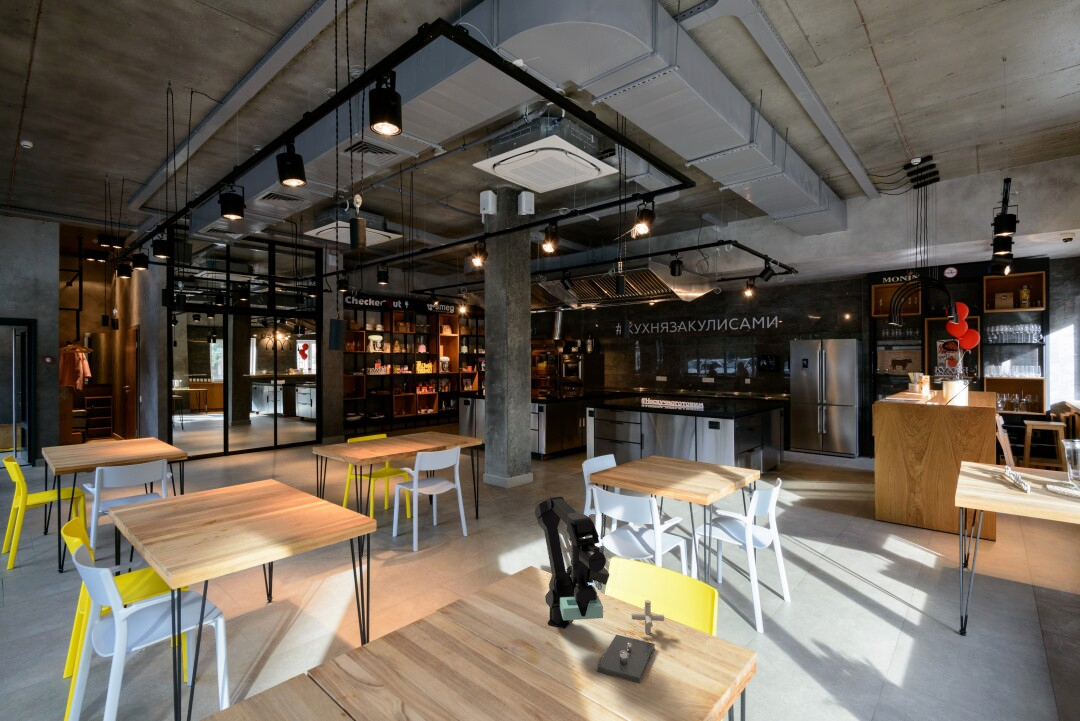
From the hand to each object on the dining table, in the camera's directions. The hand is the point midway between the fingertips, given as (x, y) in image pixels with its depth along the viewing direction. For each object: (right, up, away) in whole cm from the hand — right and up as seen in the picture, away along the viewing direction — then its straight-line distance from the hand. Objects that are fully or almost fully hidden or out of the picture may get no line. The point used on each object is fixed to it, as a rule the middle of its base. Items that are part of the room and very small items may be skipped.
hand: (581, 610), depth 155 cm
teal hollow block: (0, -1, 0) cm, 1 cm away
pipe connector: (+22, -11, +7) cm, 26 cm away
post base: (+13, -11, -7) cm, 18 cm away
